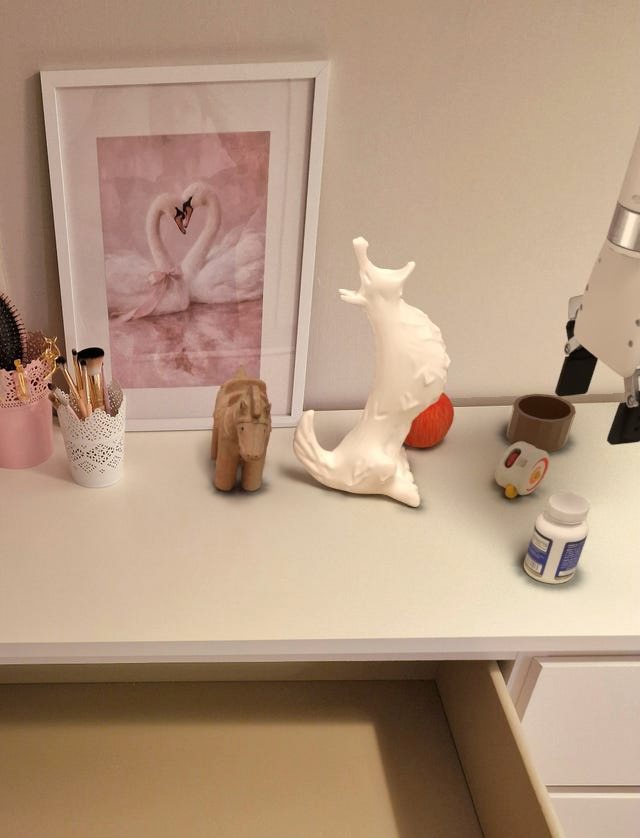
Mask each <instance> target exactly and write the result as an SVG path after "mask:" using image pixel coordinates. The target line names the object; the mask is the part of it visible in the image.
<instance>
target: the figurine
mask: <svg viewBox="0 0 640 838" xmlns="http://www.w3.org/2000/svg"><path fill="white" fill-rule="evenodd" d="M272 404H273V403H271V402H270V401H269V398H268V393H267V384H266V382H265V381H264V380H262V379H260V378H257V377H251V376H249V375H248V374H247V371H246V368H245V367H244V365H242V364H241V365H238V367H237V368H236V371H235V374H234V377H231V378H228V379H227V380H225V381H224V382H223V383H222V384H220V388H219V389H218V392H217V394H216V398H215V404H214V409H213V413H212V418H213V425H212V434H211V441H210V451H209V452H210V454H209V456H210V460H212V461H215V469H214V477H213V478H214V479H213V481H214V482H213V483H214V485H215V488H216V489H218V490H221V491H225V492H226V491H228V492H229V491H230V490H231V489H233V488H234V486H235V484H236V481H237V476H238V475H237V474H238V466H239V463H240V462H241V469H240V470H241V473H240V481H241V483H240V487H241V488H242V489H243V490H245V491H248V492H255V491H258V490H259V489H261V486H262V481H263V474H264V468H265V461H266V456H267V451H268V446H269V442H270V437H271V433H272V431H273V428H272V423H273V422H272V415H271V410H272Z"/></svg>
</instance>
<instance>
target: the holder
mask: <svg viewBox="0 0 640 838" xmlns="http://www.w3.org/2000/svg"><path fill="white" fill-rule="evenodd" d="M576 415H577V411H576V407H575V405H573V404H572V403H571V402H570V401H568V400H566V399H564V398H562V397H559V396H557V395H551V394H547V393H546V394H544V393H532V394H524V395H522V396H519V397H517V398H516V400H514V402H513V404H512V408H511V412H510V415H509V419H508V424H507V427H506V434H505V435H506V438H507V440H508V441H509V442H510V444H511V445H513V444H514V443H516V442H520V441H522V442H526V443H528V444H531V445H533V446H535V447H536V448H537V449H540V450H544V451H546V452H547V453H552V452H556V451H558V450H561V449H563V448H564V447H565V446H566V444H567V441H568V440H569V436H570V433H571V430H572V426H573V423H574V420H575V417H576Z"/></svg>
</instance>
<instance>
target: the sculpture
mask: <svg viewBox="0 0 640 838" xmlns="http://www.w3.org/2000/svg"><path fill="white" fill-rule="evenodd" d="M352 246H353V249H354V252H355V255H356V257H357V262H358V265H359V271H358V273H359V277H360V282H361V284H360V287H359V288H358V289H357V290H349V289H345V288H339V289H338V292H339V294H341V295H340V300H342V301H344V302H346V303H349V304H351V305H354V306H358V307H359V308H361V309H362V310H363V312H364V313H365V315H366V317H367V319H368V321H369V323H370V327H371V328H372V331H373V334H374V343H375V344H374V351H375V355H374V373H373V380H372V383H371V386H370V390H369V392H368V393H369V394H368V396H367V400H366V403H365V407H364V408H363V411H362V413H361V416H360V418H359V420H358V421H357V422H356V424H355V426H354V427H353V428H352V430H350V431H349V432H348V433H347V434H346V435H345V436H344V438H343V439H342V440H341V442H340V443H339V444H338V445H337V446H336V447H335V448H334V449H333V450H331V451H329V450H326V449H324V448H322V447H321V445H320V444H319V442H318V441H317V437H316V434H315V430H314V429H315V428H314V418H315V410H314V409H309V410H306V411H305V412H303V414H302V415H301V416H300V418H299V419H298V422H297V424H296V425H295V429H294V433H293V440H292V450H293V453H294V455H295V457H296V459H297V460H298V461H299V462H300V464H301V465H302V466H303V467H304V468H305V469H306V470H307V472H308V473H309V474H310V475H311V476H312V477H313V478H314V479H315V480H316V481H317V482H319V483H321V484H323V485H324V486H327V487H328V488H332V489H336V490H339V491H345V492H349V493H352V494H362V495H363V494H364V495H372V494H373V495H376V494H378V495H385V496H388V497H391V498H392V499H394V500H396V501H399V502H401V503H404V504H406V505H408V506H409V507H414V508H417V507H419V506H420V503H421V497H420V495H419V488H418V486H417V485H416V484H415V483H414V482H415V478H414V475H413V473H412V472H411V471H410V463H409V461H408V454H407V452H406V449H405V448H406V447H405V446H403V444H404V443H405V442H404V440H405V438H406V436H407V435H408V433H409V431H410V428H411V424H412V421H413V420H414V419H415V418H416V417H417V416H418V415H419V414H420V413H421V412H423V411H424V410H425V409H426V408H428V407H429V406H430V405H432V404H434V403H435V402H437V401H438V399H439V397H440V395H441V394H442V392H443V393H444V392H445V390H446V388H447V385H448V383H447V382H448V381H447V379H448V373H449V370H450V365H451V363H452V361H451V359H450V356H449V355H448V353H447V351H446V349H447V345H446V343H445V340H443V338H442V337H443V334H442V331H441V329H440V327H438V326H437V324H435V323H434V322H432V320H431V318H429V315H427V314H426V313H425V312H423V311H422V310H421V309H419V308H417V307H415V306H413V305H410V304H408V303H406V302H405V300H404V299H403V298H401V297H402V295H403V290H404V284H405V283H406V281H407V280H408V278H409V276H410V275H411V274H412V272H413V271H414V270H415V268H416V262H415V261H413V260H412V261H408V262H407V264H405V265H404V267H402V268H400V269H391V268H380V267H377V266H376V265H374V264H373V263H372V261H370V260H369V257H368V254H367V249H368V248H369V246H370V244H369V242H368V240H366V239H365V238H364V237H363V236H359V237H356V238H353V239H352Z"/></svg>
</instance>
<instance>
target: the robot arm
mask: <svg viewBox="0 0 640 838" xmlns="http://www.w3.org/2000/svg"><path fill="white" fill-rule="evenodd" d="M567 310H568V313H567V314H568V316H567V317H568V318H567V319H568V321H567V323H566V325H565V330H566V338H567V341H566V342H565V344H564V346H563V353H564V354H565V355H566V356H564V359H563V363H562V366H561V370H560V374H559V377H558V380H557V383H556V385H555V390H554V394H555V396H557V397H560V398H562V397H571V396H579V395H585V394H587V393H588V392H589V389H590V385H591V383H592V379H593V377H594V373H595V369H596V366H597V364H598V361H600V362H602V363H603V364H604V366H605V365H606V366H607V367H608V368H609V369H610V370H612V371H613V372H614V373H616V374H617V375H618V376H620V377H622V378H623V386H624V395H625V401H623V402H619V404H618V407H617V409H616V412H615V414H614V417H613V420H612V423H611V426H610V429H609V431H608V434H607V437H606V442H607V443H608V444H609V445H611V446H616V445H625V444H626V445H627V444H635V443H639V442H640V383H639V382H640V381H639V379H640V368H639V367H638V366H640V126H639V128H638V130H637V134H636V137H635V141H634V144H633V147H632V151H631V153H630V158H629V160H628V165H627V167H626V171H625V174H624V178H623V180H622V184H621V188H620V191H619V194H618V198H617V200H616V204H615V208H614V211H613V214H612V217H611V221H610V224H609V227H608V231H607V235H606V238H605V240H604V241H603V244H602V245H601V248H600V251H599V253H598V255H597V257H596V260H595V262H594V265H593V267H592V269H591V272H590V275H589V278H588V280H587V283H586V286H585V288H584V291H583V294H580V295H575V296H571V297H570V298H569V300H568V309H567Z"/></svg>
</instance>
